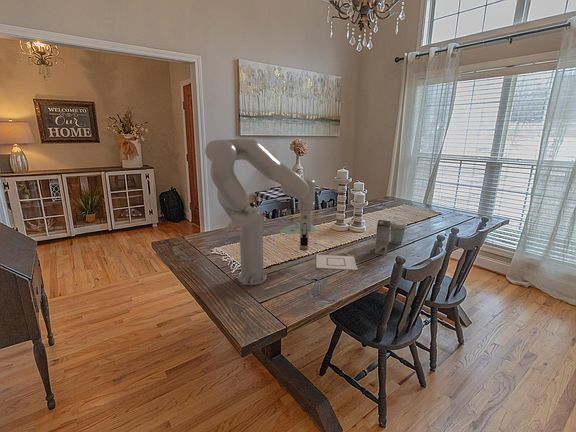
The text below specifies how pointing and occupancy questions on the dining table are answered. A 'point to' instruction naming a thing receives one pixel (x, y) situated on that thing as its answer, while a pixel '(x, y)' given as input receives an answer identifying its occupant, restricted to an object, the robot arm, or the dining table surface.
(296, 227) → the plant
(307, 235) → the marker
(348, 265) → the paper sheet
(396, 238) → the coffee cup
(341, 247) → the dining table surface
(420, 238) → the dining table surface
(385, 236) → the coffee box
